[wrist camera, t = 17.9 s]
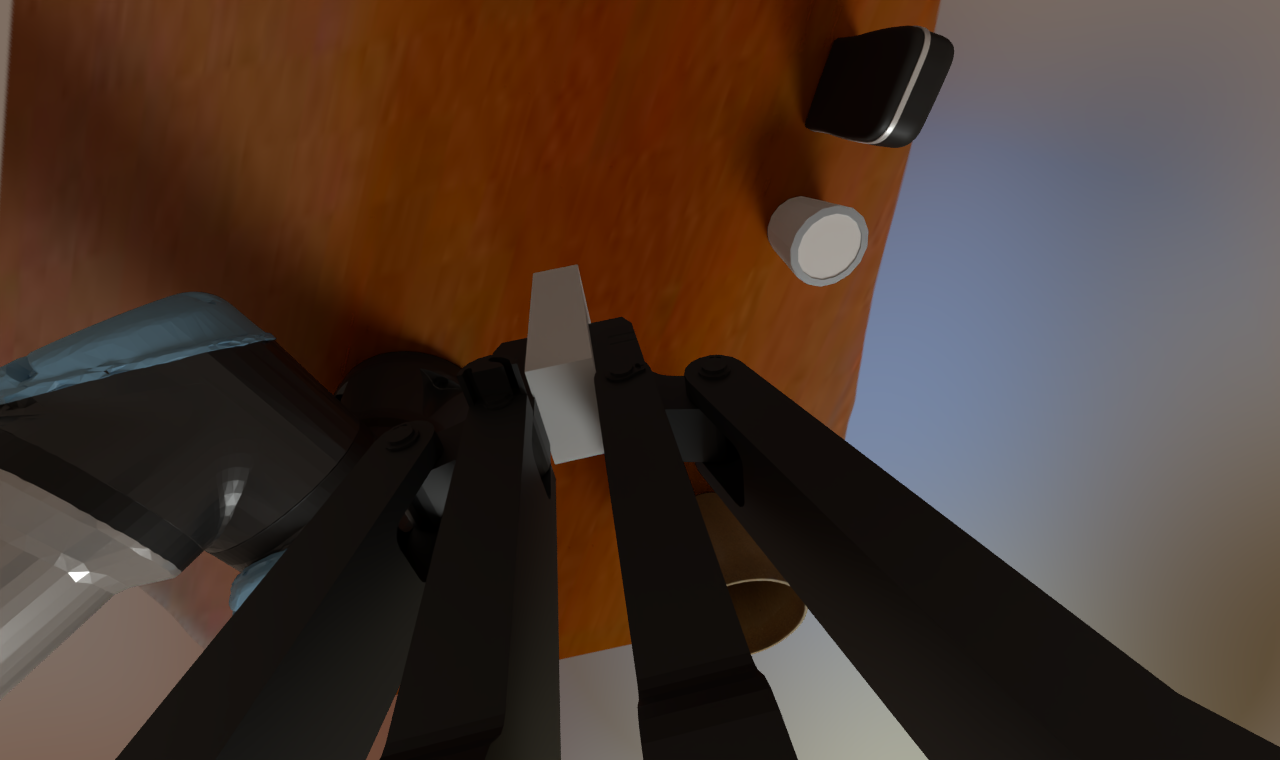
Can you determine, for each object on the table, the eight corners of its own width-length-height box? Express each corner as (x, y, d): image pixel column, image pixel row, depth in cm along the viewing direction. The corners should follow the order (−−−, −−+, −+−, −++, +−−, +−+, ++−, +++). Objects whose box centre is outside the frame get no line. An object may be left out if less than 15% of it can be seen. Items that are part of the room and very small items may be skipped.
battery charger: (838, 140, 43) (919, 157, 33) (800, 129, 42) (873, 144, 32) (874, 47, 39) (977, 35, 30) (834, 33, 38) (926, 17, 29)
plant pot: (676, 462, 60) (710, 571, 47) (776, 481, 65) (833, 587, 51) (634, 541, 67) (654, 658, 53) (728, 554, 71) (767, 665, 58)
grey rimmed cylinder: (766, 189, 44) (798, 206, 38) (837, 188, 45) (878, 204, 39) (756, 263, 48) (784, 288, 42) (821, 260, 49) (857, 285, 43)
